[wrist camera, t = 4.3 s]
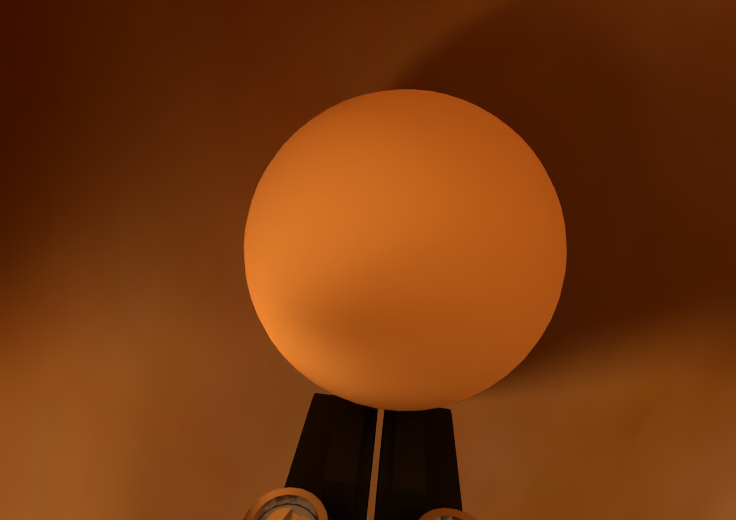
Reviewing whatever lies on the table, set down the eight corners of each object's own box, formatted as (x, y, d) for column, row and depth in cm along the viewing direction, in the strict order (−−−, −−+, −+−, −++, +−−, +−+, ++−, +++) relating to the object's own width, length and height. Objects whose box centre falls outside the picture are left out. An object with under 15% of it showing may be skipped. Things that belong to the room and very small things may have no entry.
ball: (260, 411, 10) (152, 390, 4) (286, 188, 12) (232, -5, 6) (513, 420, 10) (695, 410, 5) (495, 198, 12) (607, 15, 6)
